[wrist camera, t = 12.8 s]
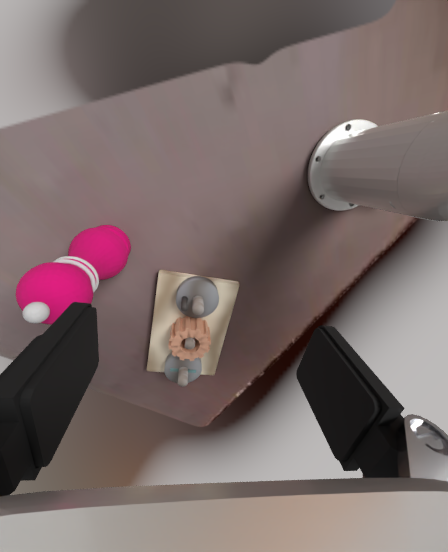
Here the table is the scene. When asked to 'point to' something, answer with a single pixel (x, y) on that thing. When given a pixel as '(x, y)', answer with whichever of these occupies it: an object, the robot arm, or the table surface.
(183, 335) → the gear
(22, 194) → the table surface
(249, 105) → the table surface
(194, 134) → the table surface
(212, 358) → the board
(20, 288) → the pepper mill
